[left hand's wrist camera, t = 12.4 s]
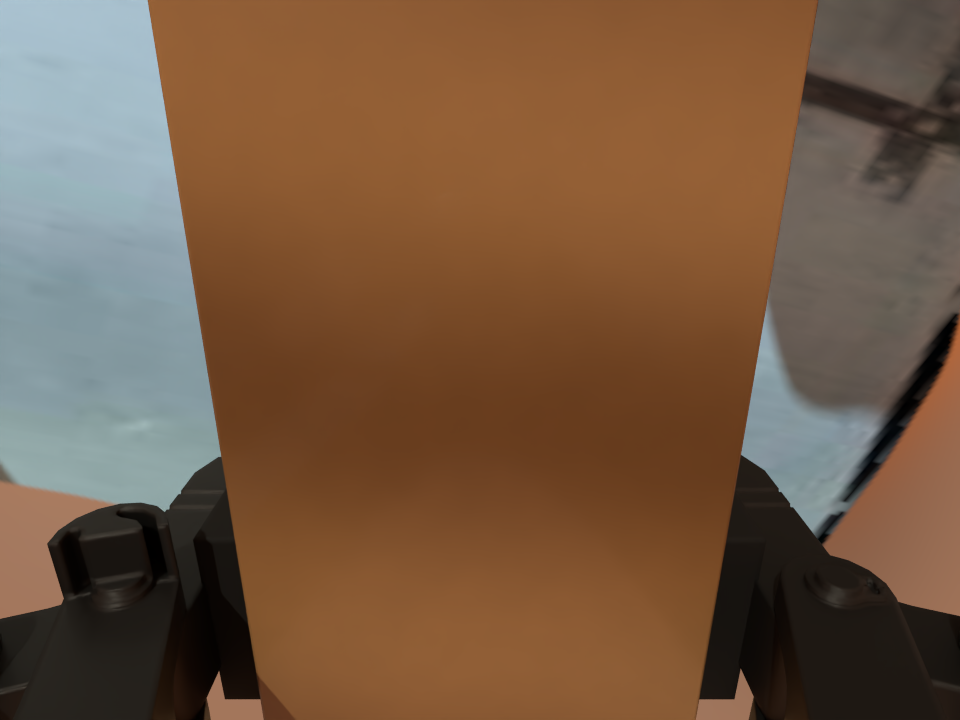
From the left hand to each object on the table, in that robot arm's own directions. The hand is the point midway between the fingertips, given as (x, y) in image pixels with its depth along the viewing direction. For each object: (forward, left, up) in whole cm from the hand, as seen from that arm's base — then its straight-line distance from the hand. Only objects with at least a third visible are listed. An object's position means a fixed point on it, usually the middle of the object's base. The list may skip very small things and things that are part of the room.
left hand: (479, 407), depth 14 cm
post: (+23, +17, -1) cm, 28 cm away
